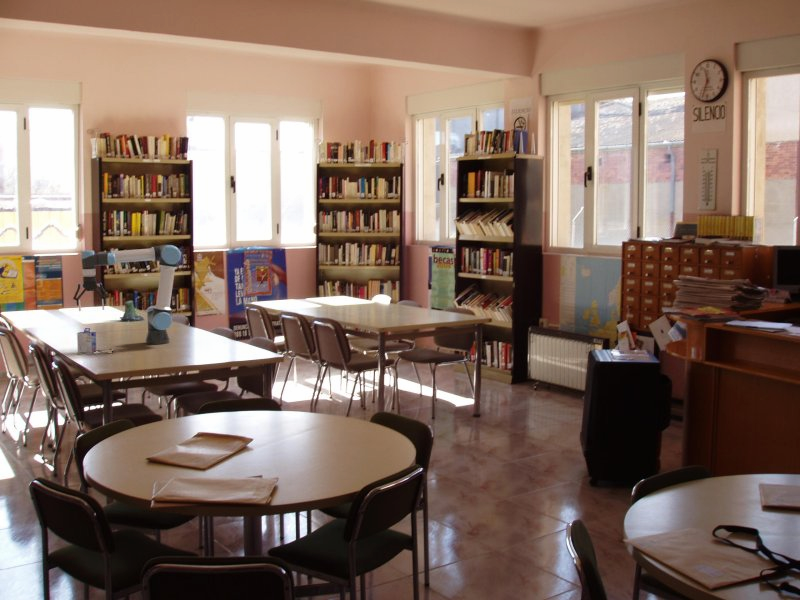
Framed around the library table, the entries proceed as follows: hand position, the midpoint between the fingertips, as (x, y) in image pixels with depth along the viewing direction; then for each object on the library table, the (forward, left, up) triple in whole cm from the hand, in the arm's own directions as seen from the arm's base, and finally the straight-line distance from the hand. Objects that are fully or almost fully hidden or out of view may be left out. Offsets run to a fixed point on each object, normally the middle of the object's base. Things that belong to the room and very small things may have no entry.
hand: (91, 310), depth 525 cm
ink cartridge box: (+3, +5, -25) cm, 26 cm away
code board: (-2, +5, -25) cm, 26 cm away
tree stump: (-16, -142, -26) cm, 145 cm away
